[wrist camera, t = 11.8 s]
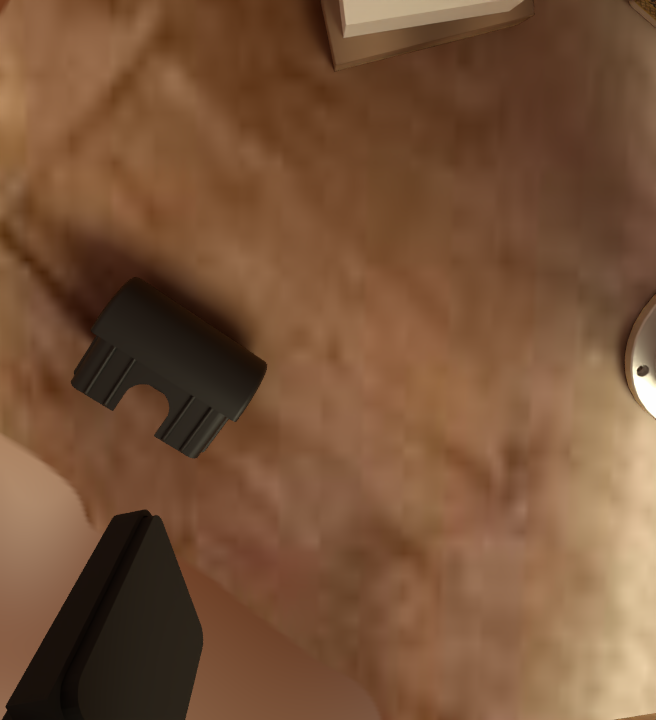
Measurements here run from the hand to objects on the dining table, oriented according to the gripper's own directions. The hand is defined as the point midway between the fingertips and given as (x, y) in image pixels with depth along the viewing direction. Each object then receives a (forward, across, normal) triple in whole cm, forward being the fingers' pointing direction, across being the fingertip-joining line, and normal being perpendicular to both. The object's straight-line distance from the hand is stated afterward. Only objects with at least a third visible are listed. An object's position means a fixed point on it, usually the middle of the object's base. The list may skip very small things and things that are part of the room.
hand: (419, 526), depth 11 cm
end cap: (+30, +12, +4) cm, 33 cm away
